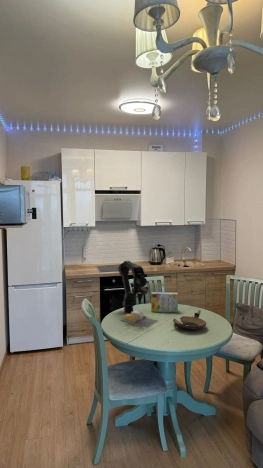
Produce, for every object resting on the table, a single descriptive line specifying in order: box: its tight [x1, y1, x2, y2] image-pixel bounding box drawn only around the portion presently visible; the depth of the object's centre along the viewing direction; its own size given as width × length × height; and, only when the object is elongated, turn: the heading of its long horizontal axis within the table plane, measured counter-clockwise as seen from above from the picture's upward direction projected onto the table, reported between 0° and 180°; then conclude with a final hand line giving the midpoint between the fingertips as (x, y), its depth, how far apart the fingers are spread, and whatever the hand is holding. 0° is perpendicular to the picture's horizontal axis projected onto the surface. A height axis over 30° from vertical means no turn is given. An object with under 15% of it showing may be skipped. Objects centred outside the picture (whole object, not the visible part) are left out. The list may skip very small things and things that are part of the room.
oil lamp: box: [172, 309, 207, 330], centre depth 220 cm, size 22×30×8 cm
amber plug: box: [123, 313, 137, 322], centre depth 227 cm, size 4×9×4 cm, turn 55°
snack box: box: [150, 291, 179, 313], centre depth 254 cm, size 21×6×15 cm, turn 84°
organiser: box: [120, 315, 159, 328], centre depth 228 cm, size 23×16×3 cm
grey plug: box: [130, 310, 144, 319], centre depth 234 cm, size 4×9×4 cm, turn 55°
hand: (137, 303), depth 233 cm, fingers open, 6 cm apart
